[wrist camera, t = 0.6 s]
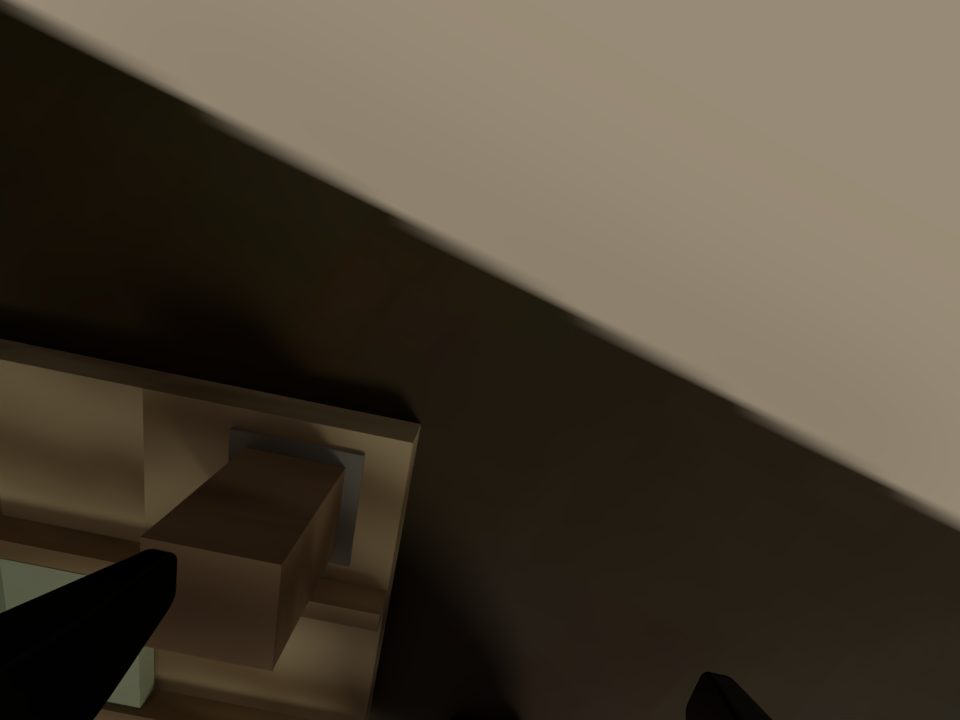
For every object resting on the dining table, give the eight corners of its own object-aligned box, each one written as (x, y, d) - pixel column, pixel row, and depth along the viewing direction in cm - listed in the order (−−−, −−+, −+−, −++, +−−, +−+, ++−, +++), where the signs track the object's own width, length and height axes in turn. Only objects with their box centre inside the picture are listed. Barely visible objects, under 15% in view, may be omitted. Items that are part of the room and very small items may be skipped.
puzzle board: (370, 707, 27) (352, 773, 23) (24, 640, 26) (-43, 697, 23) (420, 424, 21) (406, 458, 18) (-12, 336, 21) (-106, 355, 18)
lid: (154, 689, 24) (98, 763, 21) (7, 660, 24) (-73, 730, 21) (152, 569, 22) (89, 631, 18) (-10, 537, 22) (-103, 594, 18)
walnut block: (334, 550, 21) (271, 671, 15) (241, 531, 21) (142, 645, 15) (345, 467, 20) (281, 565, 14) (245, 447, 20) (140, 536, 14)
